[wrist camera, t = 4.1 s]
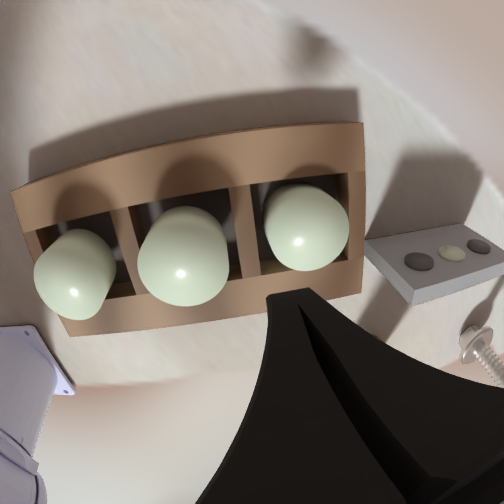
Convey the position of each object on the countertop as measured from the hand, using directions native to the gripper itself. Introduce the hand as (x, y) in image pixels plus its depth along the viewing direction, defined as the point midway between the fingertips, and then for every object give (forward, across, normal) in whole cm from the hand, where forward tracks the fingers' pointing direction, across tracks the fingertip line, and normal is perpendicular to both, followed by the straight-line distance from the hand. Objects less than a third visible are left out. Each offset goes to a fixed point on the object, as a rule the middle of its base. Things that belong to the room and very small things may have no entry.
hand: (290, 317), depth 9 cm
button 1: (+8, -2, 0) cm, 8 cm away
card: (+9, -11, +3) cm, 15 cm away
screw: (+9, -21, +16) cm, 28 cm away
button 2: (+7, +10, 0) cm, 12 cm away
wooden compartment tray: (+9, +4, 0) cm, 10 cm away
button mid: (+7, +4, 0) cm, 8 cm away
